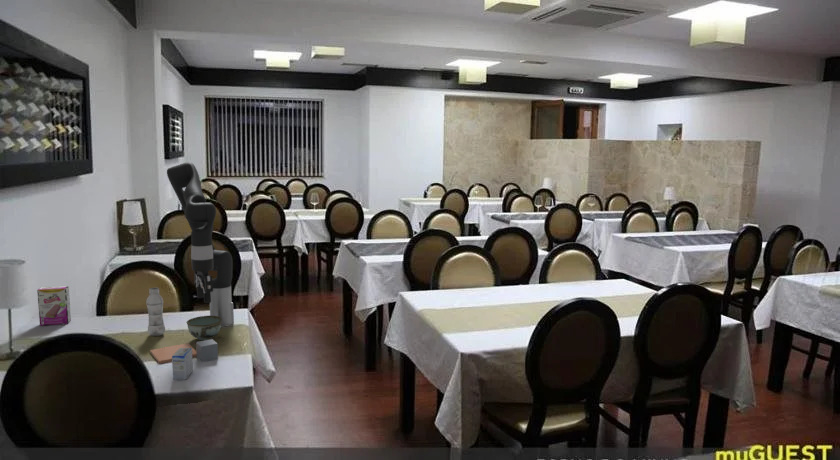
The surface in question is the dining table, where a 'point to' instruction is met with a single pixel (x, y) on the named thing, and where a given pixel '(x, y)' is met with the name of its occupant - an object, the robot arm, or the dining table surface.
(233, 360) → the dining table surface
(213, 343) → the slate cube
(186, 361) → the medicine box
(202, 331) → the bowl
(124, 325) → the dining table surface
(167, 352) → the terracotta tile
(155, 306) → the plastic bottle
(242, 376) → the dining table surface
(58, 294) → the candy bar box
